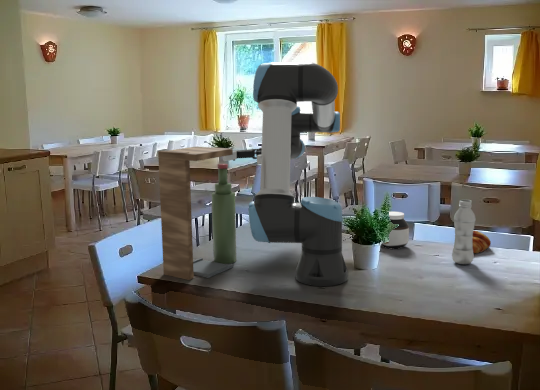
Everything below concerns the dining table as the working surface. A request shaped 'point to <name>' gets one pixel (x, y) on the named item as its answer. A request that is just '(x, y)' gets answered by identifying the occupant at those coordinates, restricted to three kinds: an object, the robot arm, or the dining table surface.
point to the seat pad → (208, 267)
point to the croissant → (480, 242)
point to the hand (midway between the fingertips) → (240, 158)
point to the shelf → (179, 206)
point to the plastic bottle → (463, 233)
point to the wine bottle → (224, 219)
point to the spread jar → (398, 232)
